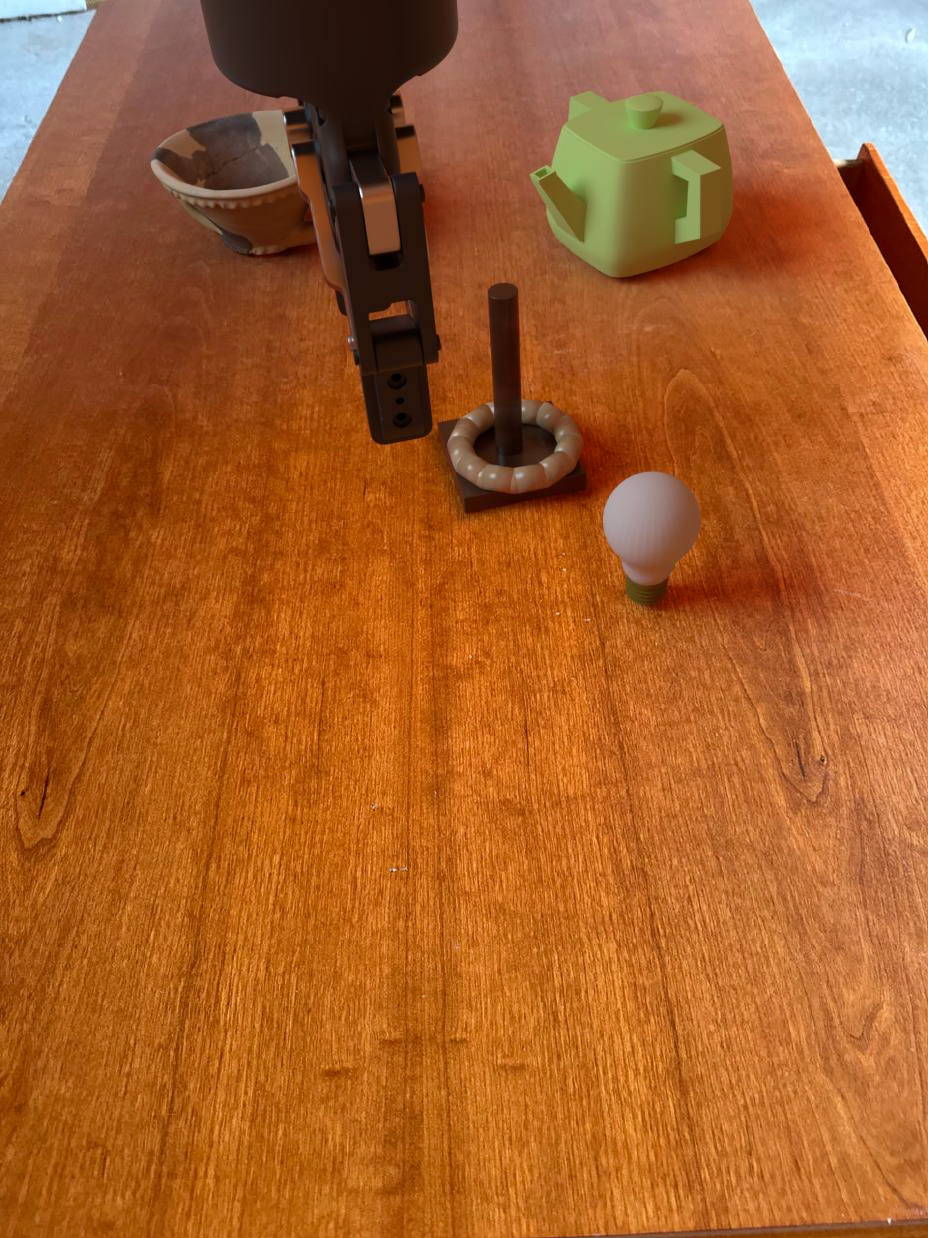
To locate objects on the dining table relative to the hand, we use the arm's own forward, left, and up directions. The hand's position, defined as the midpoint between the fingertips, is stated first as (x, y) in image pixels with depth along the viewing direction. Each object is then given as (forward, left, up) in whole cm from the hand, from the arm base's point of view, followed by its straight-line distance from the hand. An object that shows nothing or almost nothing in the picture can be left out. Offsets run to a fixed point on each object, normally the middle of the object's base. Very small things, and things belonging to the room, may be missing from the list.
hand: (382, 367), depth 43 cm
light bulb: (-16, -12, -30) cm, 36 cm away
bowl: (+3, -67, -30) cm, 73 cm away
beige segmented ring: (-11, -27, -27) cm, 40 cm away
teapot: (-28, -54, -30) cm, 68 cm away
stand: (-11, -28, -30) cm, 42 cm away
